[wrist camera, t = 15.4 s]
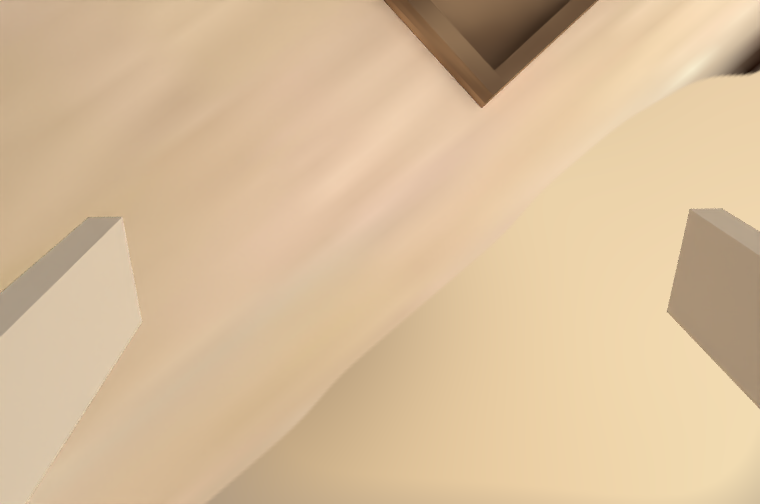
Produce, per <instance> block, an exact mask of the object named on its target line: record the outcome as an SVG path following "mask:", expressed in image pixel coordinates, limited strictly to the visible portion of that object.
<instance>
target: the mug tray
mask: <svg viewBox="0 0 760 504" xmlns="http://www.w3.org/2000/svg"><path fill="white" fill-rule="evenodd" d="M384 1H385V2H386V3H387V4H388V5H389V7H390V8H391V9H392V10H393V11H394V12H395V13H396V14H397V15H398V16H399V18H400V19H401V20H402V21H403V22H404V23H405V24H406V25H407V26H408V27H409V29H410V30H411V31H412V32H413V33H414V34H415V35H416V36H417V37H418V38H419V40H420V41H421V42H422V43H423V44H424V45H425V46H426V47H427V48H428V49H429V51H430V52H431V53H432V54H433V55H434V56H435V57H436V58H437V59H438V60H439V62H440V63H441V64H442V65H443V66H444V67H445V68H446V69H447V70H448V71H449V73H450V74H451V75H452V76H453V77H454V78H455V79H456V80H457V81H458V83H459V84H460V85H461V86H462V87H463V88H464V89H465V90H466V91H467V92H468V94H469V95H470V96H471V97H472V98H473V99H474V100H475V101H476V102H477V103H478V105H479V106H480V107H481V108H482V107H483V106H485V105H486V104H487V103H488V102H489V101H490V100H491V99H492V98H493V97H494V96H495V95H496V94H498V93H499V92H500V91H501V90H502V89H503V88H504V87H505V86H506V85H507V84H508V83H509V82H511V81H512V80H513V79H514V78H515V77H516V76H517V75H518V74H519V73H520V72H521V71H522V70H523V69H525V68H526V67H527V66H528V65H529V64H530V63H531V62H532V61H533V60H534V59H535V58H536V57H538V56H539V55H540V54H541V53H542V52H543V51H544V50H545V49H546V48H547V47H548V46H549V45H551V44H552V43H553V42H554V41H555V40H556V39H557V38H558V37H559V36H560V35H561V34H562V33H563V32H565V31H566V30H567V29H568V28H569V27H570V26H571V25H572V24H573V23H574V22H575V21H576V20H578V19H579V18H580V17H581V16H582V15H583V14H584V13H585V12H586V11H587V10H588V9H589V8H590V7H592V6H593V5H594V4H595V3H596V2H597V1H598V0H384Z"/></svg>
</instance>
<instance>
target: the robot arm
mask: <svg viewBox="0 0 760 504" xmlns="http://www.w3.org/2000/svg"><path fill="white" fill-rule="evenodd" d="M667 312H668V313H669V314H670V315H671V316H672V317H673V318H674V319H675V321H676V322H677V323H678V324H679V325H680V326H681V327H682V328H683V329H684V330H685V331H686V332H687V333H688V334H689V335H690V336H691V337H692V338H693V339H694V340H695V341H696V342H697V344H698V345H699V346H700V347H701V348H702V349H703V350H704V351H705V352H706V353H707V354H708V355H709V356H710V357H711V358H712V359H713V360H714V361H715V362H716V364H717V365H718V366H720V368H721V369H722V370H723V371H724V372H725V373H726V374H727V375H728V376H729V377H730V378H731V379H732V380H733V381H734V382H735V383H736V384H737V386H739V388H740V389H741V390H742V391H743V392H744V393H745V394H746V395H747V396H748V397H749V398H750V399H751V400H752V401H753V402H754V403H755V404H756V405H757V406H758V408H760V232H759V231H758V230H756V229H755V228H753V227H751V226H750V225H748V224H746V223H745V222H743V221H741V220H740V219H738V218H736V217H735V216H733V215H732V214H730V213H728V212H727V211H725V210H723V209H690V210H689V215H688V219H687V224H686V228H685V233H684V237H683V242H682V247H681V251H680V255H679V260H678V264H677V269H676V273H675V278H674V283H673V287H672V291H671V296H670V300H669V305H668V309H667ZM141 323H142V318H141V312H140V307H139V302H138V297H137V291H136V286H135V281H134V275H133V270H132V265H131V259H130V254H129V249H128V243H127V238H126V233H125V228H124V222H123V217H88V218H87V219H86V220H85V221H83V222H82V223H81V224H80V225H79V226H78V227H76V228H75V229H74V230H73V231H72V232H71V233H69V234H68V235H67V236H66V237H65V238H64V239H63V240H61V241H60V242H59V243H58V244H57V245H56V246H54V247H53V248H52V249H51V250H50V251H49V252H47V253H46V254H45V255H44V256H43V257H42V258H40V259H39V260H38V261H37V262H36V263H35V264H33V265H32V266H31V267H30V268H29V269H28V270H27V271H25V272H24V273H23V274H22V275H21V276H20V277H18V278H17V279H16V280H15V281H14V282H13V283H11V284H10V285H9V286H8V287H7V288H6V289H4V290H3V291H2V292H1V293H0V504H26V503H27V502H28V500H29V499H30V497H31V495H32V494H33V492H34V491H35V489H36V488H37V486H38V484H39V483H40V481H41V480H42V478H43V477H44V475H45V473H46V472H47V470H48V469H49V467H50V466H51V464H52V463H53V461H54V459H55V458H56V456H57V455H58V453H59V452H60V450H61V448H62V447H63V445H64V444H65V442H66V441H67V439H68V437H69V436H70V434H71V433H72V431H73V430H74V428H75V426H76V425H77V423H78V422H79V420H80V419H81V417H82V416H83V414H84V412H85V411H86V409H87V408H88V406H89V405H90V403H91V401H92V400H93V398H94V397H95V395H96V394H97V392H98V390H99V389H100V387H101V386H102V384H103V383H104V381H105V379H106V378H107V376H108V375H109V373H110V372H111V370H112V369H113V367H114V365H115V364H116V362H117V361H118V359H119V358H120V356H121V354H122V353H123V351H124V350H125V348H126V347H127V345H128V343H129V342H130V340H131V339H132V337H133V336H134V334H135V332H136V331H137V329H138V328H139V326H140V325H141Z"/></svg>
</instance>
